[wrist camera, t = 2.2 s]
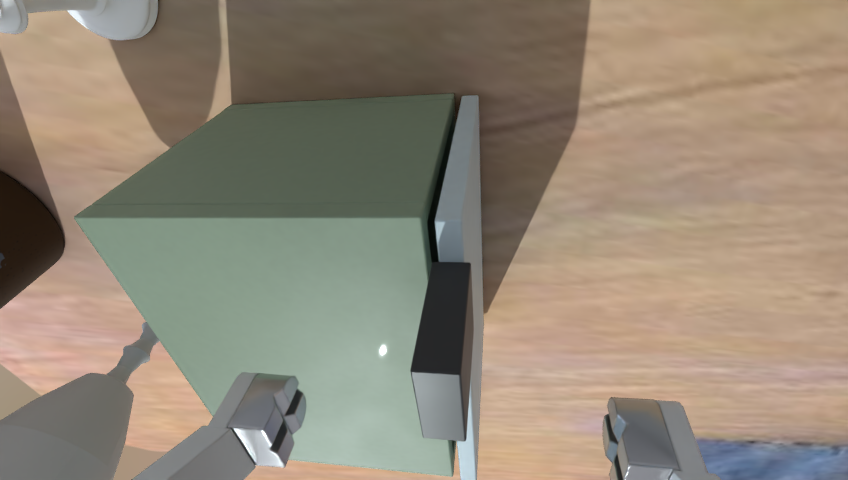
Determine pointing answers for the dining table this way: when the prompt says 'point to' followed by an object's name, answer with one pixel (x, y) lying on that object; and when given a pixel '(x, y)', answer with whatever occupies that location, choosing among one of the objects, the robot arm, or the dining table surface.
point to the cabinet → (295, 262)
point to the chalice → (74, 425)
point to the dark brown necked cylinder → (24, 239)
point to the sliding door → (454, 304)
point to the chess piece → (86, 15)
